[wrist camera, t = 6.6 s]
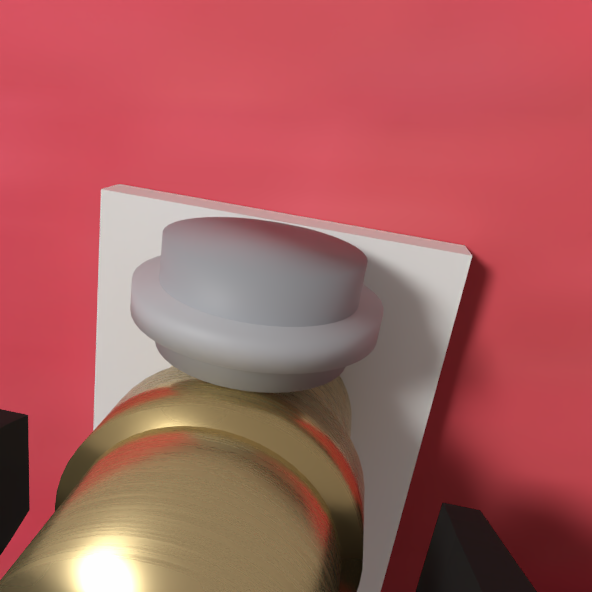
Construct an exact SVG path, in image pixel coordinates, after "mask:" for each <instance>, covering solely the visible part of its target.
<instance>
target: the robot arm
mask: <svg viewBox="0 0 592 592" xmlns="http://www.w3.org/2000/svg"><path fill="white" fill-rule="evenodd" d="M28 511H29V452H28V415H25V414H20V413H15V412H11V411H6V410H1V409H0V555H1V553H2V552H3V550H4V549H5V547H6V546H7V545H8V543H9V542H10V540H11V538H12V537H13V535H14V534H15V532H16V530H17V529H18V527H19V526H20V524H21V522H22V521H23V519H24V518H25V516H26V514H27V513H28ZM416 592H537V591H536V590H535V588H534V587H533V586H532V584H531V583H530V581H529V580H528V579H527V577H526V576H525V574H524V573H523V571H522V570H521V569H520V567H519V566H518V564H517V563H516V561H515V560H514V559H513V557H512V556H511V554H510V553H509V551H508V550H507V549H506V547H505V546H504V544H503V543H502V541H501V540H500V538H499V537H498V535H497V534H496V533H495V531H494V530H493V528H492V527H491V525H490V524H489V522H488V521H487V520H486V518H485V517H484V515H483V514H482V513H481V511H480V510H476V509H471V508H466V507H461V506H457V505H452V504H447V503H442V506H441V510H440V513H439V516H438V520H437V523H436V526H435V530H434V533H433V536H432V539H431V543H430V546H429V549H428V553H427V556H426V559H425V563H424V566H423V569H422V573H421V576H420V579H419V582H418V586H417V589H416Z"/></svg>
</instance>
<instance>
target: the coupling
mask: <svg viewBox="0 0 592 592" xmlns="http://www.w3.org/2000/svg"><path fill="white" fill-rule="evenodd" d="M351 416H352V413H351V405H350V400H349V396H348V393H347V390H346V387H345V385H344V383H343V380H342V379H341V377H340V375H339V376H338V377H337V378H335V379H334V380H332V381H331V382H328V383H326V384H324V385H322V386H319V387H315V388H312V389H307V390H302V391H295V392H283V393H264V392H251V391H243V390H237V389H231V388H226V387H222V386H218V385H214V384H211V383H208V382H205V381H202V380H199V379H197V378H194V377H192V376H190V375H188V374H186V373H184V372H182V371H180V370H179V369H177V368H176V367H174V366H172V365H171V367H170V368H167V369H165V370H162V371H159V372H157V373H155V374H153V375H151V376H150V377H148V378H146V379H144V380H143V381H141V382H140V383H139V384H137V385H136V386H135V387H133V388H132V389H131V390H130V391H129V392H128V393H127V394H126V395H125V396H124V397H123V398H122V399H121V400H120V401H119V402H118V403H117V405H116V406H115V407H114V408H113V409H112V410H111V411H110V413H109V414H108V415H107V416H106V417H105V418H104V419H103V421H102V422H101V423H100V424H99V425H98V426H97V427H96V429H95V430H94V431H93V432H92V433H91V434H90V435H89V437H88V438H87V439H86V440H85V441H84V442H83V443H82V445H81V446H80V447H79V448H78V449H77V451H76V452H75V453H74V455H73V456H72V458H71V459H70V460H69V462H68V464H67V466H66V468H65V470H64V472H63V474H62V476H61V480H60V483H59V486H58V490H57V495H56V503H55V513H54V514H53V515H52V516H51V518H50V519H49V520H48V521H47V523H46V524H45V525H44V526H43V528H42V529H41V530H40V531H39V533H38V534H37V535H36V536H35V538H34V539H33V540H32V541H31V543H30V544H29V545H28V546H27V548H26V549H25V550H24V552H23V553H22V554H21V555H20V557H19V558H18V559H17V560H16V562H15V563H14V564H13V565H12V567H11V568H10V569H9V570H8V572H7V573H6V574H5V575H4V577H3V578H2V579H1V580H0V592H357V590H358V587H359V584H360V579H361V574H362V568H363V537H364V494H365V486H364V478H363V471H362V467H361V463H360V460H359V456H358V454H357V452H356V449H355V447H354V445H353V443H352V440H351V439H350V436H351Z"/></svg>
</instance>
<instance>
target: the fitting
mask: <svg viewBox="0 0 592 592" xmlns="http://www.w3.org/2000/svg"><path fill="white" fill-rule="evenodd" d="M471 259H472V255H471V253H470V252H469V250H468V249H467V248H466V246H465V245H459V244H454V243H448V242H442V241H437V240H431V239H425V238H420V237H414V236H409V235H403V234H397V233H392V232H386V231H381V230H375V229H369V228H364V227H358V226H353V225H347V224H341V223H336V222H330V221H324V220H319V219H313V218H308V217H302V216H296V215H291V214H285V213H280V212H274V211H268V210H263V209H257V208H252V207H246V206H240V205H235V204H229V203H223V202H218V201H212V200H207V199H201V198H195V197H190V196H184V195H179V194H173V193H167V192H162V191H156V190H151V189H145V188H139V187H134V186H128V185H122V184H117V185H114V186H110V187H107V188H104V189H101V209H100V240H99V271H98V303H97V334H96V365H95V396H94V427H93V431H94V430H95V429H96V427H97V426H98V425H99V424H100V423H101V422H102V421H103V419H104V418H105V417H106V416H107V415H108V414H109V413H110V411H111V410H112V409H113V408H114V407H115V406H116V405H117V403H118V402H119V401H120V400H121V399H122V398H123V397H124V396H125V395H126V394H127V393H128V392H129V391H130V390H131V389H132V388H133V387H135V386H136V385H137V384H139V383H140V382H141V381H143V380H144V379H146V378H148V377H150V376H151V375H153V374H155V373H157V372H159V371H162V370H165V369H167V368H170V367H171V365H172V366H174V367H176V368H177V369H179V370H180V371H182V372H184V373H186V374H188V375H190V376H192V377H194V378H197V379H199V380H202V381H205V382H208V383H211V384H214V385H218V386H222V387H226V388H231V389H237V390H243V391H251V392H264V393H283V392H295V391H302V390H307V389H312V388H315V387H319V386H322V385H324V384H326V383H328V382H331V381H332V380H334V379H335V378H337V377H338V376H339V375H340V377H341V379H342V380H343V383H344V385H345V387H346V390H347V393H348V396H349V400H350V405H351V413H352V416H351V436H350V439H351V440H352V443H353V445H354V447H355V449H356V452H357V454H358V456H359V460H360V463H361V467H362V471H363V478H364V486H365V494H364V537H363V568H362V574H361V579H360V584H359V587H358V590H357V592H381V588H382V585H383V581H384V577H385V574H386V570H387V566H388V563H389V559H390V555H391V552H392V548H393V545H394V541H395V537H396V534H397V530H398V526H399V523H400V519H401V515H402V512H403V508H404V504H405V501H406V497H407V493H408V490H409V486H410V482H411V479H412V475H413V471H414V468H415V464H416V460H417V457H418V453H419V449H420V446H421V442H422V438H423V435H424V431H425V427H426V424H427V420H428V416H429V413H430V409H431V405H432V402H433V398H434V394H435V391H436V387H437V384H438V380H439V376H440V373H441V369H442V365H443V362H444V358H445V354H446V351H447V347H448V343H449V340H450V336H451V332H452V329H453V325H454V321H455V318H456V314H457V310H458V307H459V303H460V299H461V296H462V292H463V288H464V285H465V281H466V277H467V274H468V270H469V266H470V263H471Z"/></svg>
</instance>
